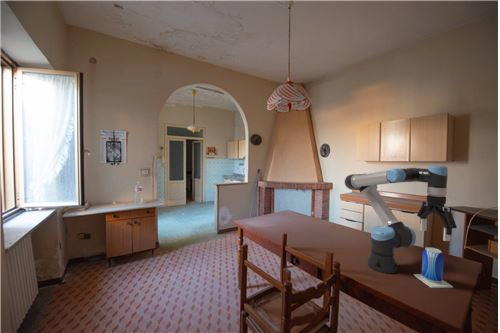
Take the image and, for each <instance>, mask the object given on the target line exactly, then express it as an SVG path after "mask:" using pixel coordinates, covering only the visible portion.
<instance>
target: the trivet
mask: <svg viewBox="0 0 500 333" xmlns="http://www.w3.org/2000/svg"><path fill="white" fill-rule="evenodd" d="M413 276H414V277H416V278H417V279H418V280H420V281H421V282H422V283H424V284H425V285H427V286H428V287H429V288H431V289H453V288H454V286H453V285H452V284H450V283H449V282H447V281H446V280H444V279H443V280H442V281H441V282H440V283H433V282H430V281H428V280H426V279H425V278H424V277H423V276H422V273H414V274H413Z"/></svg>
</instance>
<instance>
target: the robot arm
mask: <svg viewBox="0 0 500 333" xmlns="http://www.w3.org/2000/svg"><path fill="white" fill-rule="evenodd" d="M448 173H449V171H448V166H446V165H434V164H433V165H432V164H431V165H429V166H428V167H427V168H418V167H407V168H397V167H395V168H391V169H389V170H383V171H377V172H372V173H371V172H370V173H357V174H355V173H351V174H349V175H347V176H346V177H345V178H344V185H345V187H346V188H347V189H349V190H351V191H359V192H360V194H361V195H363V196H365V198H366V199H367V201H368V202H369V204H370V206H371V207H372V209H373V210H374V212H375V214H376V215H377V216H378V217H377V218H379V220H380V221H381V223H382V225H376V226H374V227H372V228H371V233H370V252H369V255H368V258H367V260H366V264H367V266H368V267H369V268H370V269H371V270H374V271H376V272H380V273H383V274H394V273H397V271H398V266H397V263H396V260H395V250H396V249H402V248H403V249H405V248H409V247H411V246H413V245H415V243H416V241H417V234H416V233H415V231H414V230H413V229H412V228H411V227H409V226H406V225H405V224H404V222H403V221H401V220H398V218H397V217H396V215H395V214H394V213H393V211H392V210H391V208H390V207H389V205H388V203H386V201H385V200H384V198H383V196H382V195H381V194H380V192H379V191H378V185H387V184H398V183H412V182H413V183H414V182H415V183H416V182H418V183H426V184H427V187H426V188H427V189H426V194H427V195H426V201H422V203H421V204H422V205H421V207H420V209H419V210H418V212H417V214H416V216H417V217H418V218H420V219H419V220H420V221H419V222H420V228H419V229H420V231H421V232H426V231H427V228H428V226H427V225H428V219H427V217H428V216H430V215H431V214H432V213H433V214H436V215H437V216H439V219H440V220H441V222H442V223H443V225H444V227H443V236H442V237H443V238H442V240H443V242H450V241H451V236H452V233H453V231H452V230H453V229H457V228H458V227H457V224H456V220H455V219H454V216H453V214H452V208H451V207H449V206H448V207H445V204H447V197H446V196H447V191H448V190H447V189H448V188H447V186H448V185H447V184H448V176H449V174H448Z"/></svg>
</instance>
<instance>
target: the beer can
mask: <svg viewBox="0 0 500 333" xmlns="http://www.w3.org/2000/svg"><path fill="white" fill-rule="evenodd" d="M421 258H422V259H421V260H422V261H421V274H422V276H423V277H424V278H425V279H426V280H428V281H430V282H433V283H440V282H441V281H442V280H444V263H445V262H444V261H445V258H444V255H443V253H442V251H441V250H440V249H438V248H436V247H430V246H429V247H428V246H425V249H424V250H422V257H421Z"/></svg>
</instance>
